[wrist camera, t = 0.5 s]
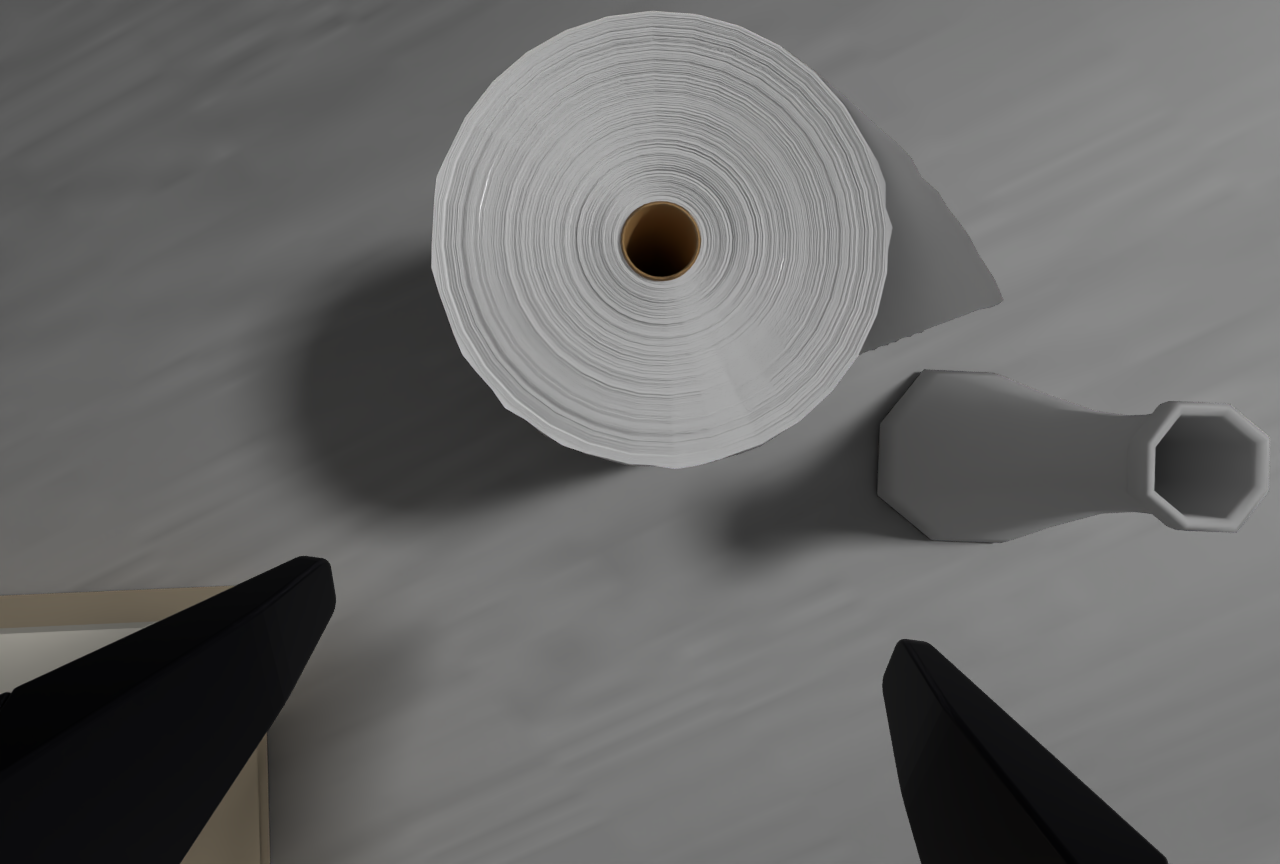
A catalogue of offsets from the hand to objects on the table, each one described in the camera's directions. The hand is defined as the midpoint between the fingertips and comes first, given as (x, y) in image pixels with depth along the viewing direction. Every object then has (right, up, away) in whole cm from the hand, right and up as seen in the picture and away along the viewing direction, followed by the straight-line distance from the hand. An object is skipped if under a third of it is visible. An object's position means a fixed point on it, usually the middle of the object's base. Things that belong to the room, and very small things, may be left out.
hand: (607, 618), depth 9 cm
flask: (+14, +2, +15) cm, 20 cm away
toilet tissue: (+1, +8, +14) cm, 16 cm away
